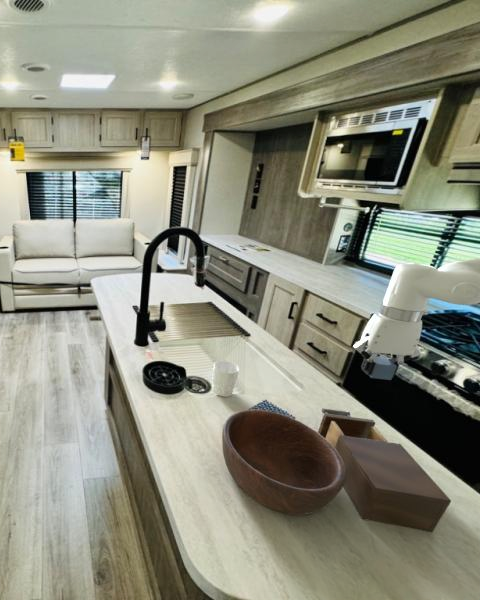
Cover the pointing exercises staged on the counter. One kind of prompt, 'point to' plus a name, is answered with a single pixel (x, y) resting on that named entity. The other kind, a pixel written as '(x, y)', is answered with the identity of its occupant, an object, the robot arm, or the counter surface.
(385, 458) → the cabinet
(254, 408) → the woven mat
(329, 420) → the drawer
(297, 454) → the wooden bowl
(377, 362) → the block
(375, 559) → the counter surface
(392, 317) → the robot arm
